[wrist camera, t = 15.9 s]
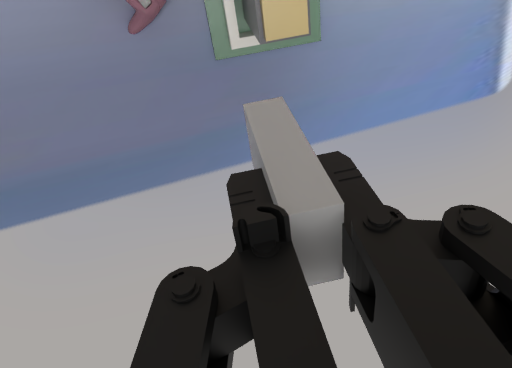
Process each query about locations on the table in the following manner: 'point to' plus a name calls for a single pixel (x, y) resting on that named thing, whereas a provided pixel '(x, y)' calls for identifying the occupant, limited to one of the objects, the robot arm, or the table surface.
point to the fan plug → (277, 19)
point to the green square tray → (247, 30)
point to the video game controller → (143, 13)
